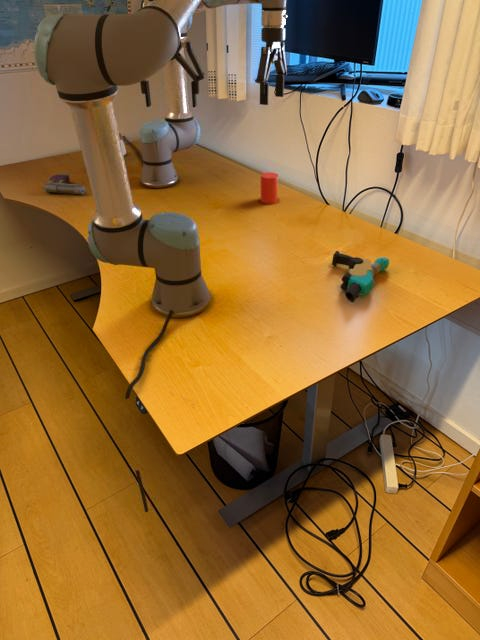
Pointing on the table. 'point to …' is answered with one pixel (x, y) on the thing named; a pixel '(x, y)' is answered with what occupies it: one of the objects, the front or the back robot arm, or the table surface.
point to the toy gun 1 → (63, 185)
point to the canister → (269, 188)
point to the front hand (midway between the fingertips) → (171, 106)
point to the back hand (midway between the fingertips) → (271, 100)
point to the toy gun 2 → (358, 274)
